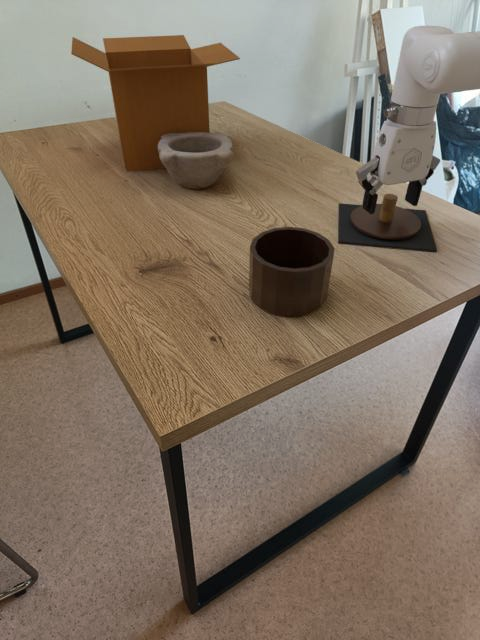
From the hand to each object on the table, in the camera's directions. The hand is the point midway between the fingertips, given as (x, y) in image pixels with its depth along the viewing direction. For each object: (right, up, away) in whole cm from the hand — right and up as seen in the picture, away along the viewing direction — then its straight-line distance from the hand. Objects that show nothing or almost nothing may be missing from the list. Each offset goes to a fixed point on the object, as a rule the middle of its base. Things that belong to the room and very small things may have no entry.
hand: (389, 207), depth 87 cm
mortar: (-39, +11, +20) cm, 45 cm away
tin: (-21, -17, -13) cm, 30 cm away
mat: (0, -3, +3) cm, 5 cm away
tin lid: (0, -2, +2) cm, 3 cm away
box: (-49, +23, +33) cm, 64 cm away
